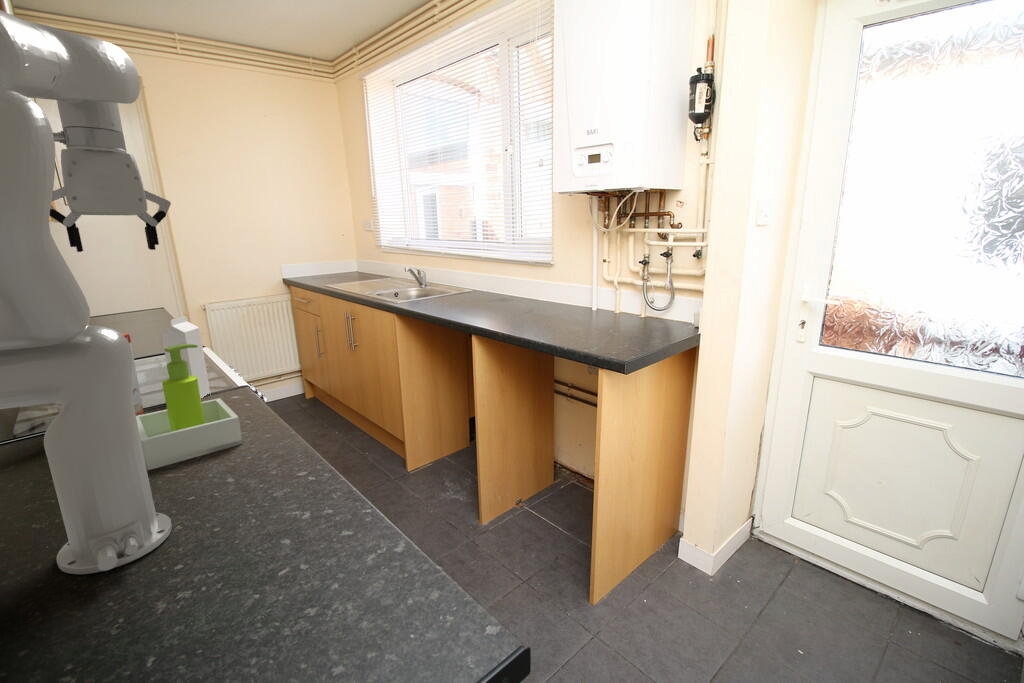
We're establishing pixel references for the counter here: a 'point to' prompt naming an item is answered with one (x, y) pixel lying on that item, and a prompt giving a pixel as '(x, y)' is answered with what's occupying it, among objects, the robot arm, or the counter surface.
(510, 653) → the counter surface
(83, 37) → the robot arm
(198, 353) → the milk
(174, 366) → the soap dispenser
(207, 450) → the tub
